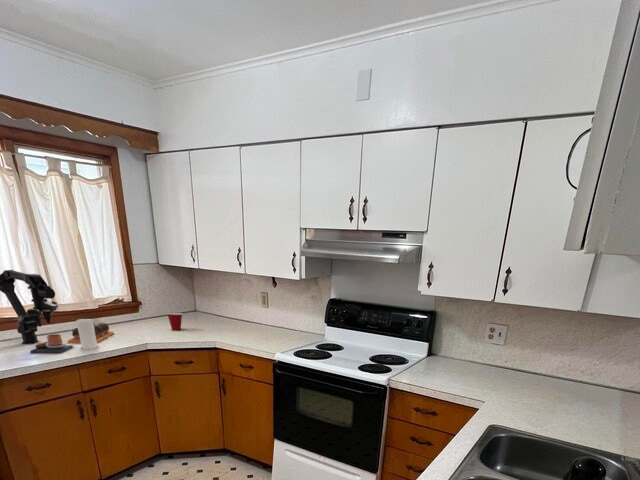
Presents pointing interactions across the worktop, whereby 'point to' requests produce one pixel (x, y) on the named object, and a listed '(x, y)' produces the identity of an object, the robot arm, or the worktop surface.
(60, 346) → the scale pan
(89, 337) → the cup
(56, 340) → the bowl
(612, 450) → the worktop surface
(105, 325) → the brown piece
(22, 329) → the robot arm
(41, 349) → the scale
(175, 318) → the plastic cup
